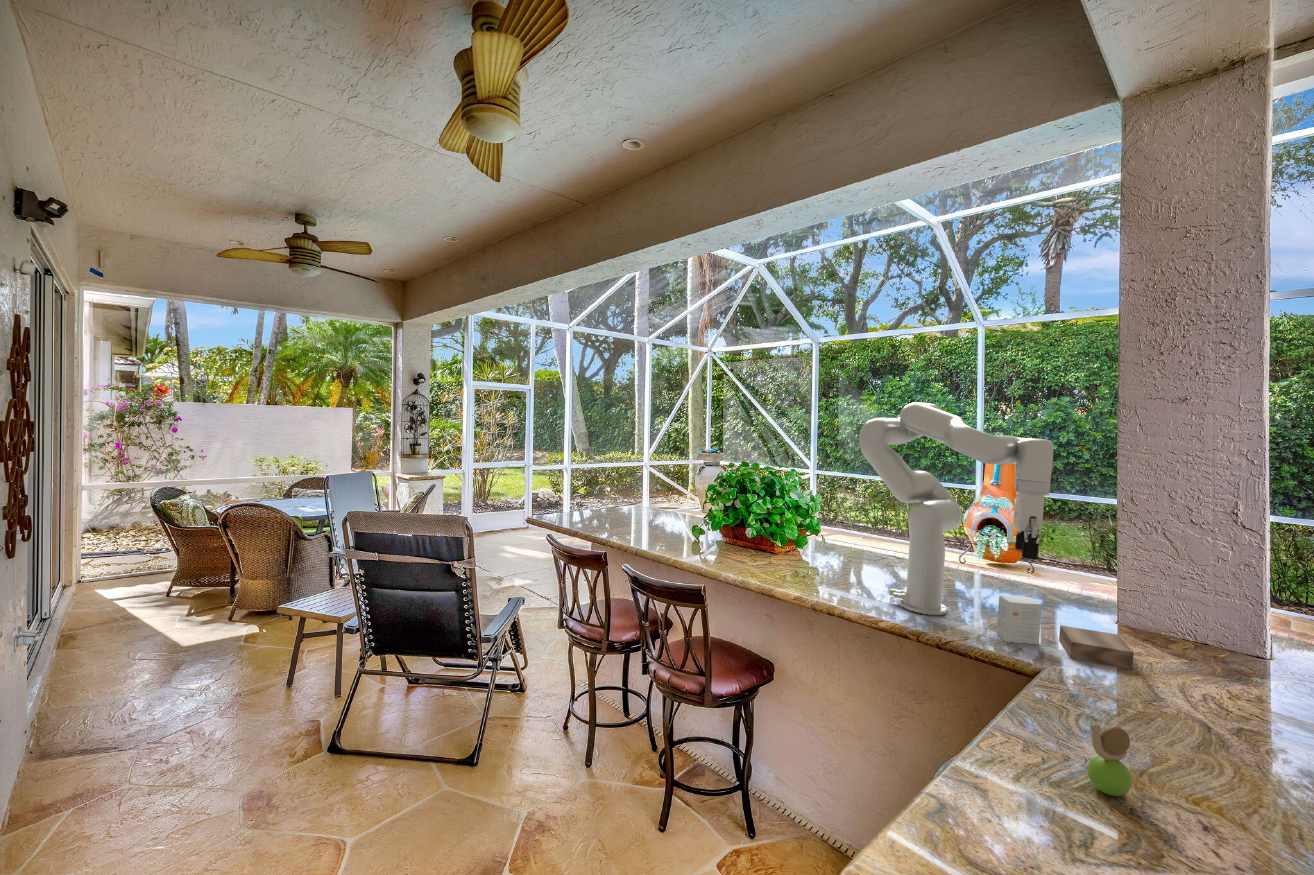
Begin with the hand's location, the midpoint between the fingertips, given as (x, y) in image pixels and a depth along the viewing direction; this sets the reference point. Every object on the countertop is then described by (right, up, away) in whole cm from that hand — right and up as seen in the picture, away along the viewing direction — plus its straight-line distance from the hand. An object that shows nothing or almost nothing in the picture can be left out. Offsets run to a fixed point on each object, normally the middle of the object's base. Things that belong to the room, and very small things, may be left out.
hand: (1025, 553), depth 150 cm
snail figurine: (-25, -25, -59) cm, 69 cm away
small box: (-2, -22, +1) cm, 23 cm away
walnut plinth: (+13, -23, -6) cm, 27 cm away
